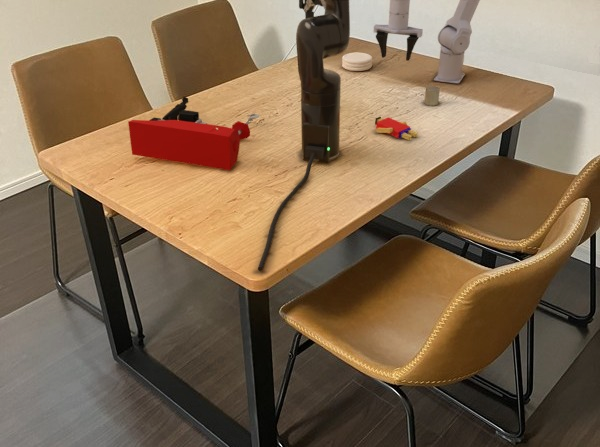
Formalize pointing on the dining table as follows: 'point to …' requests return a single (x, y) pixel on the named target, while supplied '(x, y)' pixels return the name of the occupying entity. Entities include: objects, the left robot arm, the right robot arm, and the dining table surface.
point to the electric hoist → (188, 139)
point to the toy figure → (394, 128)
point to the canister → (432, 95)
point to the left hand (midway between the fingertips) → (321, 29)
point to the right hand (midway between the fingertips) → (395, 58)
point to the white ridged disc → (357, 61)
